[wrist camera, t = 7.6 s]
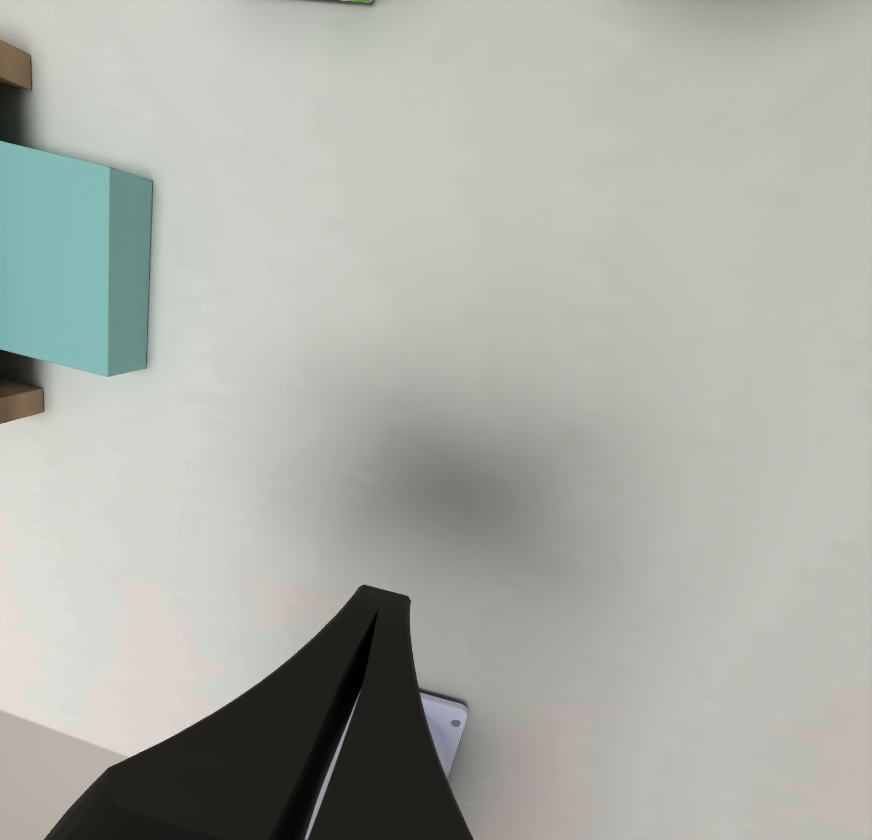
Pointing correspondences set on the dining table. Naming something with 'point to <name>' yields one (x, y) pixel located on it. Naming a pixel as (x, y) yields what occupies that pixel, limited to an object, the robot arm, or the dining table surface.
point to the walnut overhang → (3, 396)
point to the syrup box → (365, 0)
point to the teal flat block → (73, 261)
